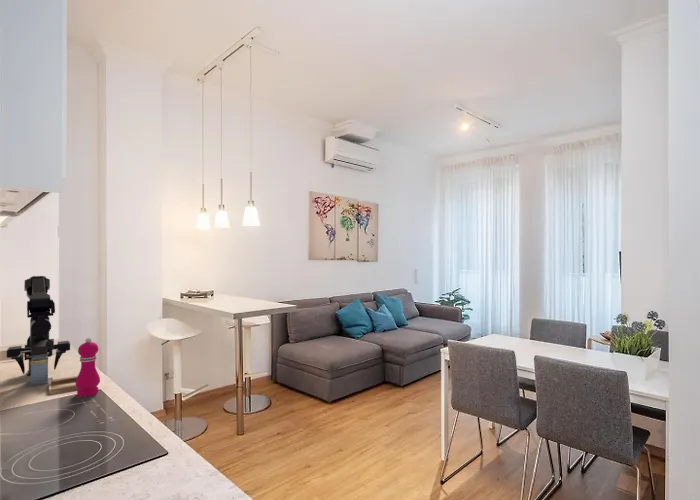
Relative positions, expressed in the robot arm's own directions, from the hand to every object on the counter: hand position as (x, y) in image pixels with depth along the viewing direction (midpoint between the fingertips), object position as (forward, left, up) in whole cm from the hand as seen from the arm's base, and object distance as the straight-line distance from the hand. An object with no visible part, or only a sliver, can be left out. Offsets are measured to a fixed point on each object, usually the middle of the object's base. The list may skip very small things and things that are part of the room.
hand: (39, 371), depth 149 cm
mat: (0, 0, -4) cm, 4 cm away
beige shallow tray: (+11, +8, -4) cm, 14 cm away
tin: (0, 0, -4) cm, 4 cm away
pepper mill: (+23, +14, -5) cm, 27 cm away
